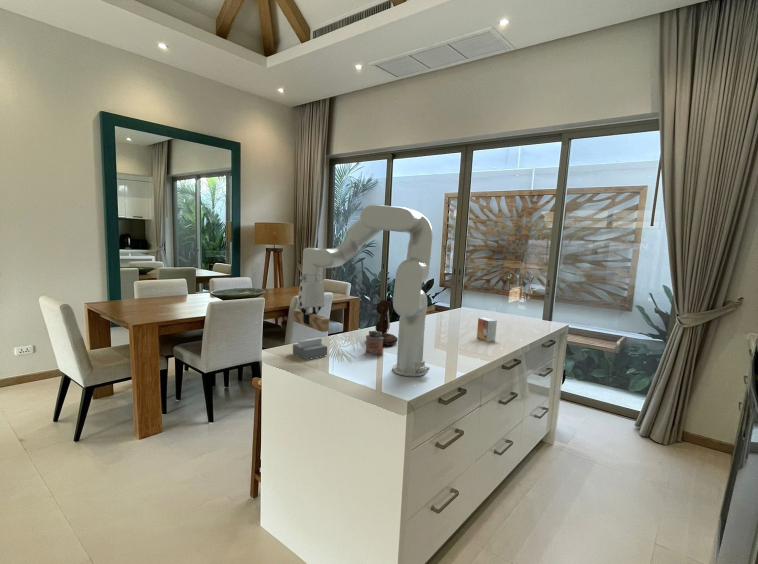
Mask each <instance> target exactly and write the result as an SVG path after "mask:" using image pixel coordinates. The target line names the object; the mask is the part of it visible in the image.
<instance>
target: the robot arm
mask: <svg viewBox="0 0 758 564" xmlns="http://www.w3.org/2000/svg"><path fill="white" fill-rule="evenodd" d="M381 231H388V232H397V233H406V234H409V240H408V244H407V252H406V259H405V260H403V261H401V263H400V264H399V265H398V267H397V269H396V272H395V273H396V274H395V277H394V288H393V296H392V306H393V309H394V311H395V313H396V314H397V315H398V316H399V320H398V322H399V323H398V336H397V338H398V339H397V340H398V341H397V355H396V357H397V359H396V364H394V365H392V372H393V373H394V374H397V375H400V376H405V377H421V376H424V375H426V374H428V373H429V371H430V367H429V366H427V365H425V364H426V362H425V360H423V359H424V345H425V344H424V343H425V326H426V316H427V310H428V296H427V294H426V293H425V291H424V290H423V289H422V286H423V283H425V282H426V281H427V279H428V277H429V274H430V263H431V258H432V257H431V255H432V246H433V233H434V232H433V228H432V225H431V223H430V221H429V219H428V218H427V217H426V216H425V215H423V214H422V213H421V212H419V211H417V210H415V209H413V208H407V207H402V206H394V205H393V206H392V205H391V206H390V205H383V204H382V205H381V204H369V205H366V206H365V207H364V208H363V209H362V210H361V211H360V216H359V219H358V220H357V221H356V222H354V223H353V224H352V225H351V226H350V227H348V228H347V237H346V238H345V239H344V241H342V242H341V243H340V244H338V245H337V246H336V247H334V248H320V247H319V248H317V247H305V248H304V249H303V252H302V271H301V273H302V274H301V275H300V276H299V280H301V281H300V284H299V287H298V288H299V289H298V296H297V305H296V306H295V309H299V310H300V311H301V312H302V313H303V314H304V315H303V321H304V323H305V324H307V325H308V324H309V315H308V313H309V312H310V308H311V309H312V310H311V311H312V312H311V313H314V314H317V315H319V311H321V310H322V309H323V308H324V307H325V289H324V288H325V287H324V283H323V282H322V270H323V269H332V268H338V267H341V266H343V265H344V264H345V263H347V262H348V261H350V260H351V259H352V258H354V257H355V255H357V253H359V251H361V249H362V248H363V246H364V245H366V244H367V243H369V242H370V240H372V239H373V238H374V237H376V236H377V235H378V234H380V233H381ZM322 268H323V269H322Z"/></svg>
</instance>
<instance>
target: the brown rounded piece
mask: <svg viewBox="0 0 758 564" xmlns="http://www.w3.org/2000/svg"><path fill="white" fill-rule="evenodd" d="M375 309H376V313H378V314H379V319H378V322H377V323H376V324H375V331H376V332H377V331H378V332H382V335H379V337H383V338H384V339H383V345H389V347H392V345H393V344H396V343H398V336H396V335H394V334H392V333H388V332H389V330H390V326H391V324H390V323H391V322H390V309H391V303H390V301H388V300H385V299H383V300H381V301H380V302H378V303H377V304H376V308H375ZM386 318H387V319H386Z"/></svg>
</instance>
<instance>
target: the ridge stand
mask: <svg viewBox="0 0 758 564" xmlns="http://www.w3.org/2000/svg"><path fill="white" fill-rule="evenodd" d="M297 342H298V343H294V344H292V354H293V355H294V354H295V355H294V356H296V355H297V357H298V356H299V358H300V357H301V358H300V359H302V358H303V360H305V361H308V359H310V360H312V359H311V358H315V359H317V358H316V357H319V358H321V357H320V356H324V357H326V356H325V355H327V356H328V346H327V345H325V344H323V343H322V342H323V338H322V337H313V338H307V339H301V340H298V341H297Z"/></svg>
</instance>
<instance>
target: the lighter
mask: <svg viewBox="0 0 758 564" xmlns="http://www.w3.org/2000/svg"><path fill="white" fill-rule="evenodd" d="M379 335H382V332H378V331H376V329H374V330H369V331H368V334H367V335H365V338H366V341H365V345H366V346H365V352H364V353H365V354H368V355H370V354H372V355H371V356H375V357H376V356H378V357H381V356H383V355H384V353H383V348H384V347H383V346H384V344H383V339H384V338H383V337H379Z"/></svg>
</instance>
